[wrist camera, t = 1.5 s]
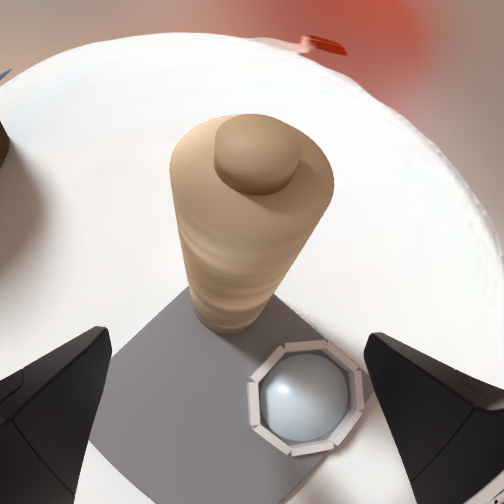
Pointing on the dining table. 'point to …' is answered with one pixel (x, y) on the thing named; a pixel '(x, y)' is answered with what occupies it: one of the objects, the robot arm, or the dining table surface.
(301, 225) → the beige wooden pepper mill
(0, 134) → the wooden container
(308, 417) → the baseplate
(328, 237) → the dining table surface
